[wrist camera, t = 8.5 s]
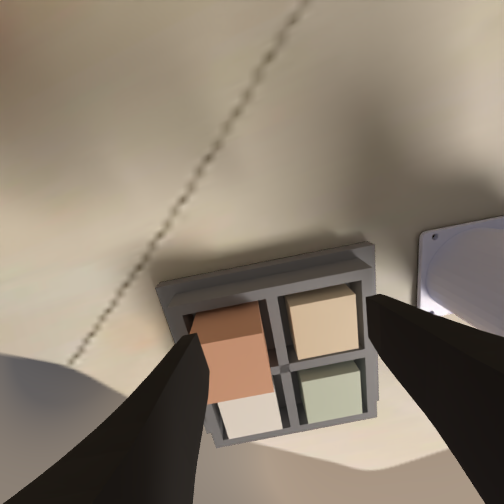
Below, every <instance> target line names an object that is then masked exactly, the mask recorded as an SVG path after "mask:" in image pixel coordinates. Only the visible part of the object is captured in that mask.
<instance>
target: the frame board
mask: <svg viewBox="0 0 504 504" xmlns="http://www.w3.org/2000/svg"><path fill="white" fill-rule="evenodd" d="M155 289H156V292H157V294H158V297H159V300H160V303H161V306H162V308H163V311H164V314H165V317H166V320H167V323H168V325H169V328H170V331H171V334H172V337H173V339H174V342H175V344H176V343H177V341H178V340H179V339H180V338H181V337H182V336H183V335H188V334H190V331H191V328H192V325H193V321H194V318H195V315H196V313H197V312H202V311H207V310H212V309H217V308H222V307H227V306H232V305H237V304H242V303H247V302H253V301H258V304H259V309H260V314H261V319H262V324H263V329H264V334H265V339H266V345H267V351H268V357H269V363H270V369H271V375H272V382H273V388H274V392H272V393H266V394H261V395H256V396H250V397H245V398H240V399H234V400H229V401H224V402H218V403H213V404H208V405H207V407H206V413H205V419H204V427H205V430H206V432H207V434H208V433H211V435H212V437H213V440H214V443H215V446H216V448H219V447H225V446H230V445H235V444H240V443H246V442H251V441H256V440H261V439H266V438H272V437H277V436H282V435H287V434H292V433H298V432H303V431H308V430H313V429H318V428H323V427H329V426H334V425H339V424H344V423H349V422H355V421H360V420H365V419H370V418H375V417H377V401H379V385H378V353H377V351H376V350H375V348H374V346H373V345H372V343H371V341H370V340H369V338H368V327H367V312H366V297H368V296H372V295H376V272H375V245H374V244H372V243H370V242H368V241H367V242H362V243H357V244H352V245H347V246H342V247H337V248H332V249H327V250H321V251H316V252H311V253H306V254H301V255H296V256H291V257H286V258H281V259H276V260H271V261H266V262H261V263H256V264H251V265H246V266H240V267H235V268H230V269H225V270H220V271H215V272H210V273H205V274H200V275H195V276H190V277H185V278H180V279H175V280H170V281H165V282H160V283H159V284H158V285H157V287H156V288H155Z"/></svg>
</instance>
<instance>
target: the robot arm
mask: <svg viewBox="0 0 504 504" xmlns="http://www.w3.org/2000/svg"><path fill="white" fill-rule="evenodd" d="M434 234H435V235H434ZM433 235H434V237H433V238H432V236H433ZM429 311H430V312H429ZM366 312H367V327H368V338H369V340H370V341H371V343H372V345H373V346H374V348H375V350H376V351H377V353H378V354H379V356H380V357H381V359H382V360H383V362H384V363H385V364H386V366H387V367H388V368H389V369H390V371H391V372H392V373H393V375H394V376H395V377H396V378H397V380H398V381H399V382H400V383H401V385H402V386H403V387H404V388H405V390H406V391H407V392H408V393H409V395H410V396H411V397H412V398H413V400H414V401H415V402H416V403H417V405H418V406H419V407H420V408H421V410H422V411H423V412H424V413H425V415H426V416H427V417H428V419H429V420H430V421H431V423H432V424H433V425H434V427H435V428H436V430H437V431H438V432H439V434H440V435H441V437H442V438H443V440H444V441H445V443H446V444H447V446H448V447H449V449H450V450H451V452H452V453H453V455H454V456H455V458H456V459H457V461H458V462H459V464H460V465H461V467H462V468H463V470H464V471H465V473H466V475H467V476H468V478H469V479H470V481H471V482H472V484H473V485H474V487H475V488H476V490H477V491H478V493H479V495H480V496H481V498H482V499H483V501H484V502H485V504H504V216H499V217H494V218H489V219H484V220H479V221H474V222H469V223H464V224H459V225H454V226H449V227H444V228H439V229H434V230H429V231H425V232H423V233H422V234H421V235H420V238H419V262H418V291H417V307H414V306H412V305H409V304H407V303H404V302H401V301H399V300H396V299H394V298H391V297H388V296H385V295H382V294H377V295H372V296H368V297H366ZM448 314H455V315H456V316H458V317H460V318H461V319H463V320H464V321H466V322H467V323H469V324H471V325H472V326H474V327H475V328H477V329H475V328H472V327H469V326H467V325H464V324H461V323H458V322H455V321H452V320H449V319H446V318H443V317H441V316H443V315H448ZM209 375H210V370H209V367H208V364H207V361H206V358H205V355H204V352H203V349H202V346H201V343H200V340H199V337H198V334H197V333H193V334H188V335H183V336H182V337H181V338H180V339H179V340H178V341H177V343H176V344H175V345H174V346H173V347H172V349H171V350H170V351H169V352H168V353H167V355H166V356H165V357H164V358H163V359H162V360H161V362H160V363H159V364H158V365H157V366H156V367H155V369H154V370H153V371H152V372H151V373H150V374H149V376H148V377H147V378H146V379H145V380H144V381H143V382H142V383H141V384H140V385H139V386H138V387H137V389H136V390H135V391H134V392H133V393H132V394H131V395H130V396H129V397H128V398H127V399H126V400H125V401H124V402H123V404H121V405H120V406H119V407H118V408H117V409H116V410H115V411H114V412H113V413H112V414H111V415H110V416H109V417H108V418H107V419H106V420H105V421H104V422H103V423H102V424H100V425H99V426H98V427H97V429H95V430H94V431H93V432H92V433H90V434H89V435H88V436H87V437H86V438H85V439H84V440H82V441H81V442H80V443H79V444H78V445H77V446H76V447H74V448H73V449H72V450H71V451H70V452H68V453H67V454H66V455H65V456H64V457H62V458H61V459H60V460H59V461H58V462H56V463H55V464H54V465H53V466H51V467H50V468H49V469H48V470H46V471H45V472H44V473H43V474H41V475H40V476H39V477H38V478H36V479H35V480H34V481H32V482H31V483H30V484H28V485H27V486H26V487H24V488H23V489H22V490H21V491H19V492H18V493H17V494H15V495H14V496H13V497H11V498H10V499H9V500H7V501H6V502H5V503H3V504H193V493H194V483H195V474H196V466H197V459H198V454H199V448H200V442H201V436H202V431H203V425H204V419H205V413H206V407H207V401H208V394H209Z"/></svg>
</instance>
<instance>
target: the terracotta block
mask: <svg viewBox="0 0 504 504" xmlns="http://www.w3.org/2000/svg"><path fill="white" fill-rule="evenodd" d="M193 333H197V334H198V337H199V340H200V343H201V346H202V349H203V352H204V355H205V358H206V361H207V364H208V367H209V370H210V375H209V394H208V401H207V405H208V404H213V403H218V402H224V401H229V400H234V399H240V398H245V397H250V396H256V395H261V394H266V393H272V392H274V388H273V382H272V375H271V369H270V363H269V357H268V351H267V345H266V339H265V334H264V329H263V324H262V319H261V314H260V309H259V304H258V301H253V302H247V303H242V304H237V305H232V306H227V307H222V308H217V309H212V310H207V311H202V312H197V313H196V315H195V318H194V321H193V325H192V328H191V331H190V334H193Z"/></svg>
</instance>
